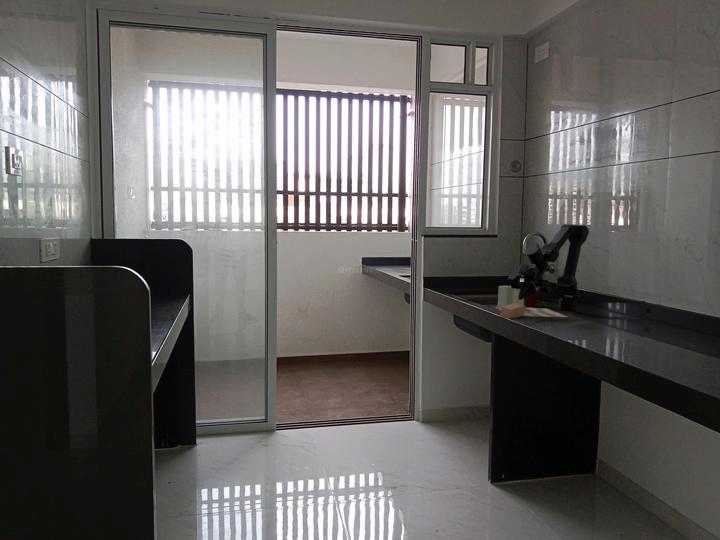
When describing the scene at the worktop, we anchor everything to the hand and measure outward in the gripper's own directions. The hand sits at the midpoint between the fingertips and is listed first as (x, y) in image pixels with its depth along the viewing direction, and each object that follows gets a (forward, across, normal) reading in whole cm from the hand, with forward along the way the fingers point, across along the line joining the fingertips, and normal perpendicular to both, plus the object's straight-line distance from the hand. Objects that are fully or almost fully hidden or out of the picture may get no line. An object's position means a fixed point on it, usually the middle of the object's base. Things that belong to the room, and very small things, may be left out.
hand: (519, 299), depth 230 cm
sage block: (-2, -14, +12) cm, 18 cm away
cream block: (-7, -13, +16) cm, 22 cm away
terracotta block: (+2, 0, +4) cm, 4 cm away
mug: (-16, -15, +27) cm, 35 cm away
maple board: (-4, -4, +15) cm, 16 cm away
